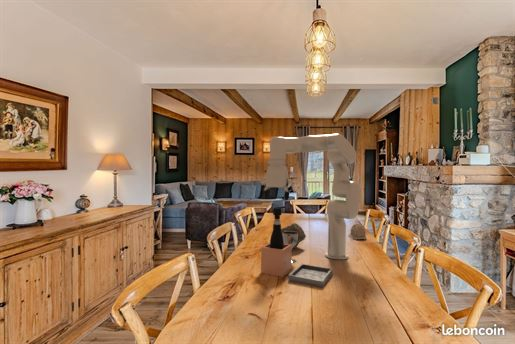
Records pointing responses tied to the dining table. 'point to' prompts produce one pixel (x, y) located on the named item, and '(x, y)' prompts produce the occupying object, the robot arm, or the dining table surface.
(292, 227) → the rock
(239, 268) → the dining table surface
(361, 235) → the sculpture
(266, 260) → the box
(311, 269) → the tray
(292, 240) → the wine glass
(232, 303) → the dining table surface
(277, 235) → the wine bottle
